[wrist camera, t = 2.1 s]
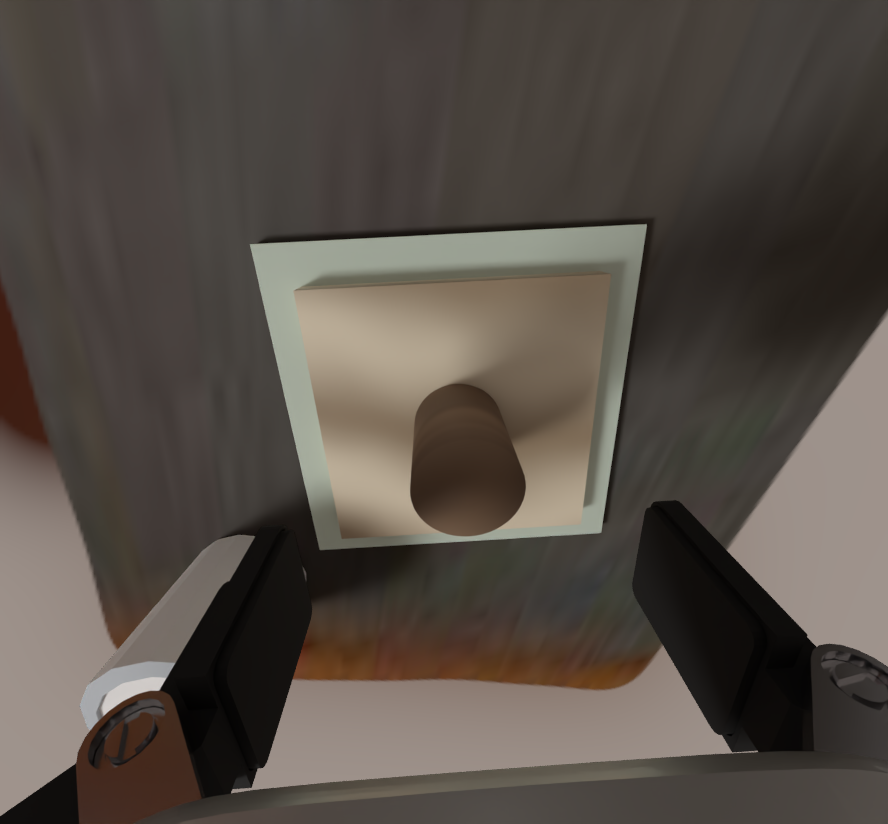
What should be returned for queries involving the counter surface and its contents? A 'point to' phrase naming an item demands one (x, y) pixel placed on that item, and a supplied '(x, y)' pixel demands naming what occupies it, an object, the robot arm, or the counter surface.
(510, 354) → the lid
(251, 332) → the counter surface
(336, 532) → the mat
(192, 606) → the white cup
